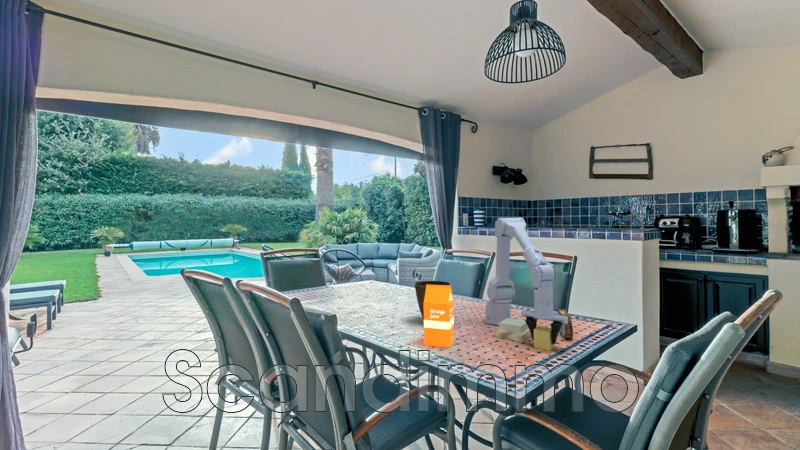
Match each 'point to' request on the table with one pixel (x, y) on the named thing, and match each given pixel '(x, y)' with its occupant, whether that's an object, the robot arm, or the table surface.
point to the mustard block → (543, 338)
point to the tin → (566, 325)
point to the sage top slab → (513, 325)
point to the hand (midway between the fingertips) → (544, 341)
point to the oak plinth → (513, 335)
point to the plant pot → (421, 290)
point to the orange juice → (438, 316)
